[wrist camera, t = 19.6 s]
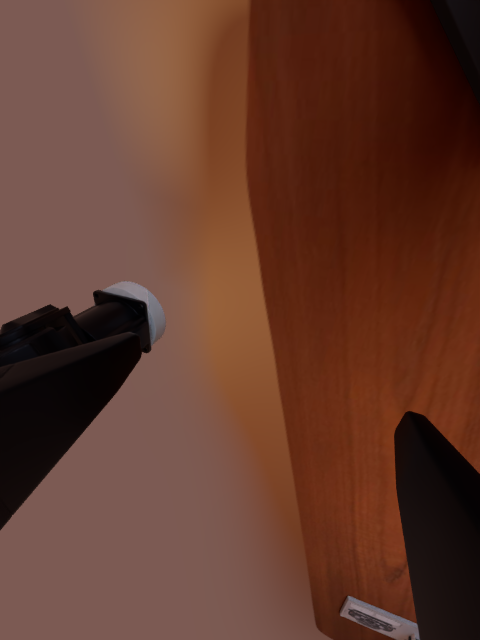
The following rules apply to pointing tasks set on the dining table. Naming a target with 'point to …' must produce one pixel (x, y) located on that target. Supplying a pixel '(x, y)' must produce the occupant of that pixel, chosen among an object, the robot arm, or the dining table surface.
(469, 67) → the stepped rectangular base
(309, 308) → the dining table surface
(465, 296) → the dining table surface
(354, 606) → the car cutout
